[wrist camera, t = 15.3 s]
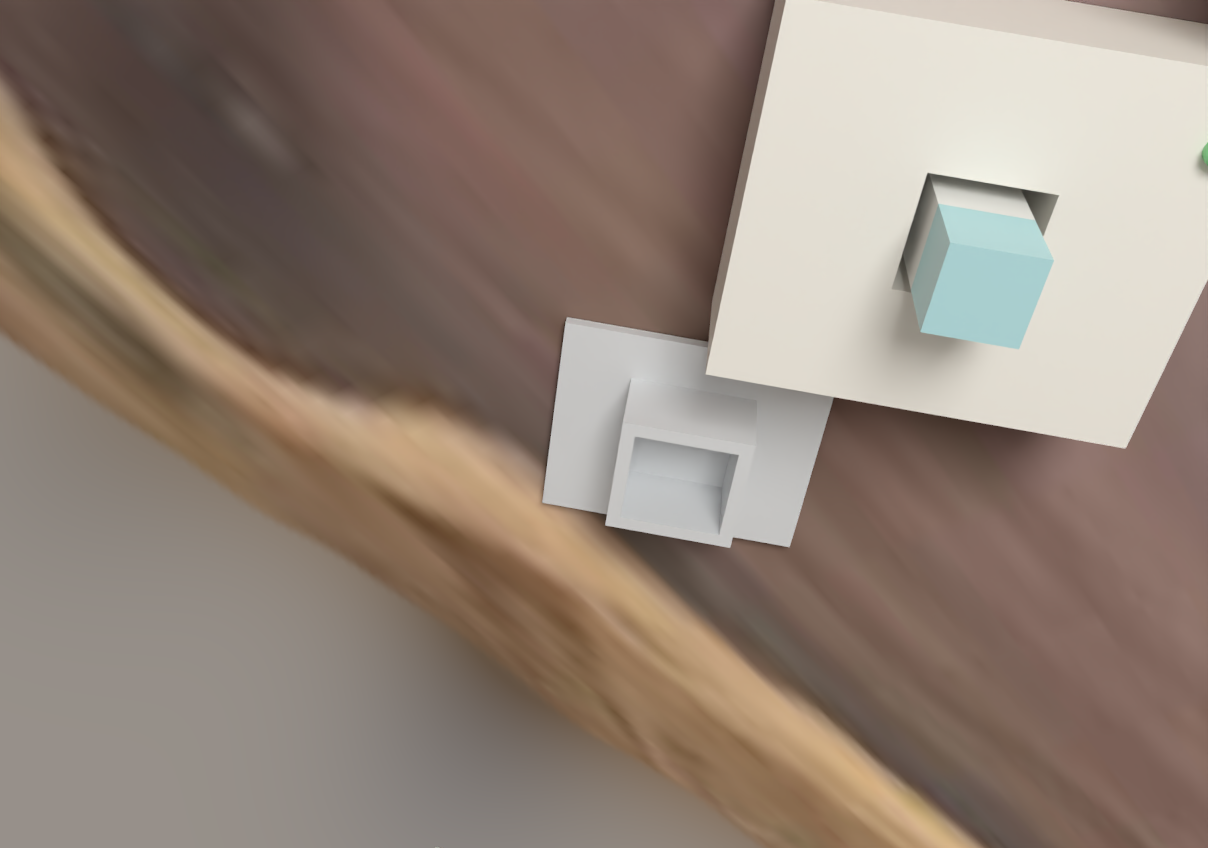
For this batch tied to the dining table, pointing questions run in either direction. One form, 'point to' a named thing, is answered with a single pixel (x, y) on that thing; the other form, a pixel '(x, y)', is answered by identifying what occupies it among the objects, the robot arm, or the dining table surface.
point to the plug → (975, 261)
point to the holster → (677, 440)
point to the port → (980, 153)
